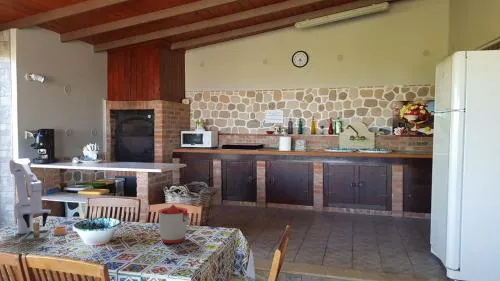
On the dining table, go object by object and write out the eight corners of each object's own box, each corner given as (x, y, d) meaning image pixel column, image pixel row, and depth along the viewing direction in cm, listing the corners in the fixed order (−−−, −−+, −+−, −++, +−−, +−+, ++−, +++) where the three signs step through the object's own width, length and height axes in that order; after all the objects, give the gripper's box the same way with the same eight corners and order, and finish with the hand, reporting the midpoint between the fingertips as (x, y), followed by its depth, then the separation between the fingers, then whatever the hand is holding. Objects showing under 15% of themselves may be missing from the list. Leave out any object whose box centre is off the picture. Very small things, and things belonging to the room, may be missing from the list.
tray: (29, 234, 211) (29, 231, 211) (50, 232, 214) (50, 229, 214) (21, 242, 196) (21, 239, 195) (44, 240, 199) (44, 237, 199)
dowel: (34, 235, 206) (33, 222, 205) (40, 235, 207) (39, 221, 206) (32, 237, 203) (32, 223, 203) (38, 236, 204) (38, 222, 203)
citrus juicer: (184, 246, 190) (183, 208, 189) (153, 244, 193) (153, 207, 192) (194, 237, 205) (194, 202, 204) (166, 235, 208) (165, 201, 208)
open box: (56, 233, 212) (56, 226, 212) (67, 232, 214) (67, 225, 214) (54, 236, 207) (54, 229, 207) (65, 235, 209) (65, 228, 208)
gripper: (18, 205, 198) (19, 229, 199) (48, 203, 202) (49, 227, 203) (22, 202, 205) (23, 226, 205) (51, 201, 209) (51, 224, 210)
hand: (36, 226), depth 205 cm, fingers open, 7 cm apart
